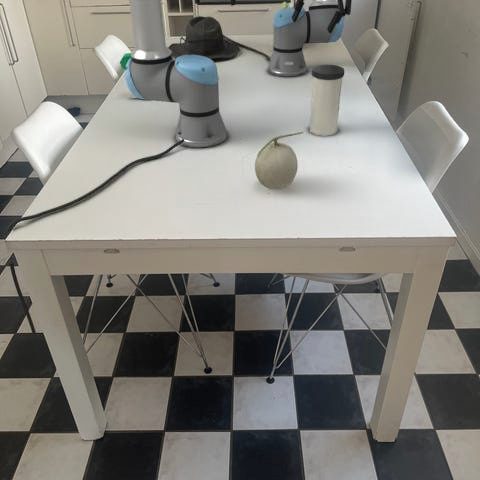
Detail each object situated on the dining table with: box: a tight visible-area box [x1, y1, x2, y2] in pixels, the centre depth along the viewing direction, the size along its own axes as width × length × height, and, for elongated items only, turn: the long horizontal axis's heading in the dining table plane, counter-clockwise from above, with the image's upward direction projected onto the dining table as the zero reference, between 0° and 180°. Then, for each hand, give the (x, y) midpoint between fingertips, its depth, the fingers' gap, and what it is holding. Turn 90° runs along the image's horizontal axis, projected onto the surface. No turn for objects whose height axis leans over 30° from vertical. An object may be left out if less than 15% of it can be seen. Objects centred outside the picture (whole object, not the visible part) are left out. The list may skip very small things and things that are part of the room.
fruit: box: [254, 131, 304, 191], centre depth 125 cm, size 10×12×15 cm
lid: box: [311, 64, 345, 80], centre depth 148 cm, size 9×9×2 cm
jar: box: [309, 76, 343, 137], centre depth 153 cm, size 8×8×18 cm
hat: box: [167, 15, 241, 60], centre depth 228 cm, size 32×35×14 cm
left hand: (215, 4), depth 181 cm, fingers open, 13 cm apart
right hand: (311, 25), depth 169 cm, fingers open, 13 cm apart
